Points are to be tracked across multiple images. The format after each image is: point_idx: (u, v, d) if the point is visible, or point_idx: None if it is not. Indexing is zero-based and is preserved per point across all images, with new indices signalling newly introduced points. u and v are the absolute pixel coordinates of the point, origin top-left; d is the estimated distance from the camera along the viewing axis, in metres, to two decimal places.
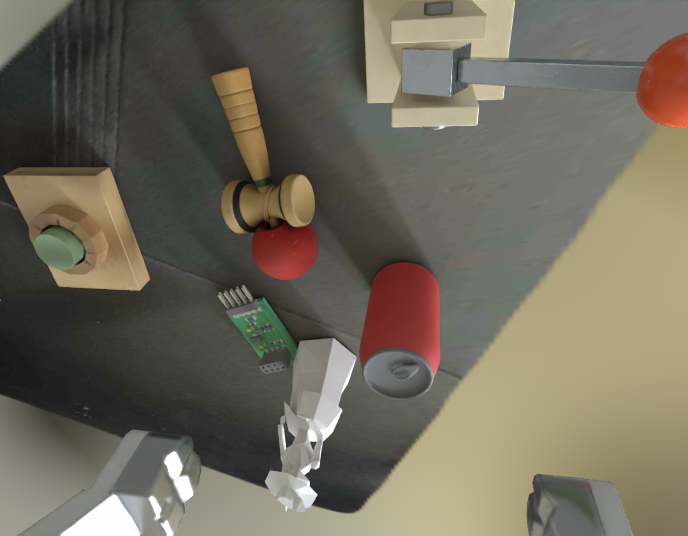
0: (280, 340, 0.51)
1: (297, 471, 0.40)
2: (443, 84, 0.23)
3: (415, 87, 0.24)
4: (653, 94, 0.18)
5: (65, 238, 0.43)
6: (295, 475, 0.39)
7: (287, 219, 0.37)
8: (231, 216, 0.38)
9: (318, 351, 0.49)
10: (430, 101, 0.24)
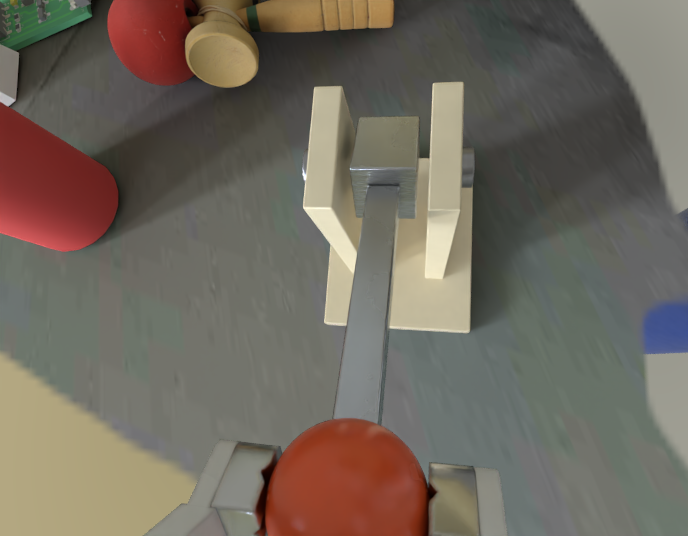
0: (20, 29, 0.35)
1: None
2: (368, 160, 0.15)
3: (366, 130, 0.16)
4: (332, 435, 0.10)
5: None
6: None
7: (196, 26, 0.26)
8: None
9: None
10: (343, 154, 0.16)
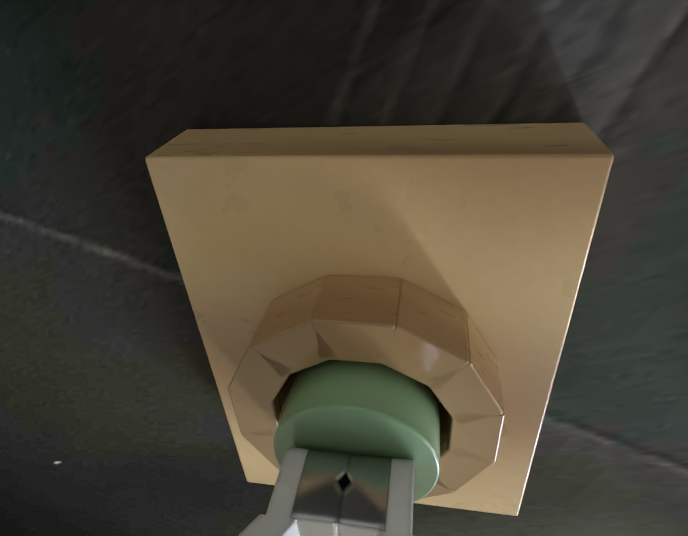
0: None
1: None
2: None
3: None
4: None
5: (420, 416, 0.10)
6: None
7: None
8: None
9: None
10: None
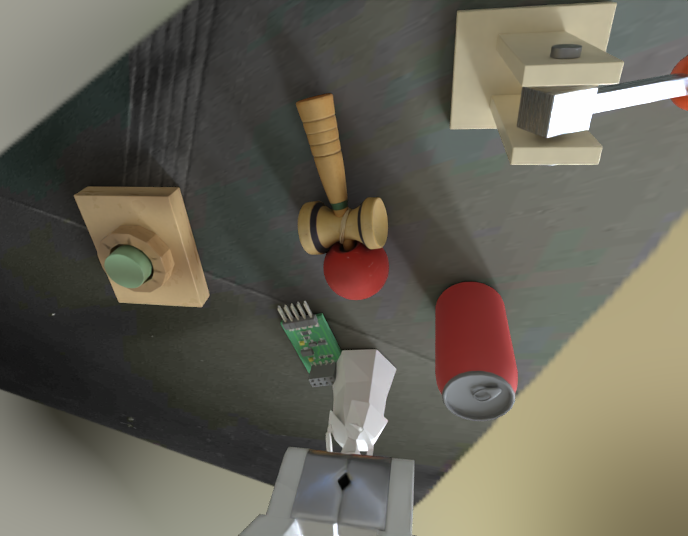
0: (331, 354, 0.52)
1: None
2: (585, 119, 0.24)
3: (560, 128, 0.23)
4: None
5: (136, 258, 0.43)
6: None
7: (366, 242, 0.38)
8: (308, 239, 0.39)
9: (361, 361, 0.50)
10: (548, 139, 0.24)
